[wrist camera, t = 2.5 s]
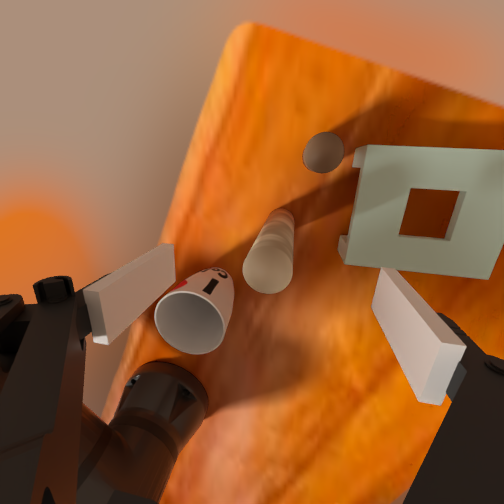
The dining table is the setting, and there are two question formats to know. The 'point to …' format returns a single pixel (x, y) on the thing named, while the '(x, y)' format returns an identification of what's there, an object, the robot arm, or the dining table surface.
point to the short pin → (323, 152)
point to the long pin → (271, 254)
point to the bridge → (395, 199)
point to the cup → (197, 311)
